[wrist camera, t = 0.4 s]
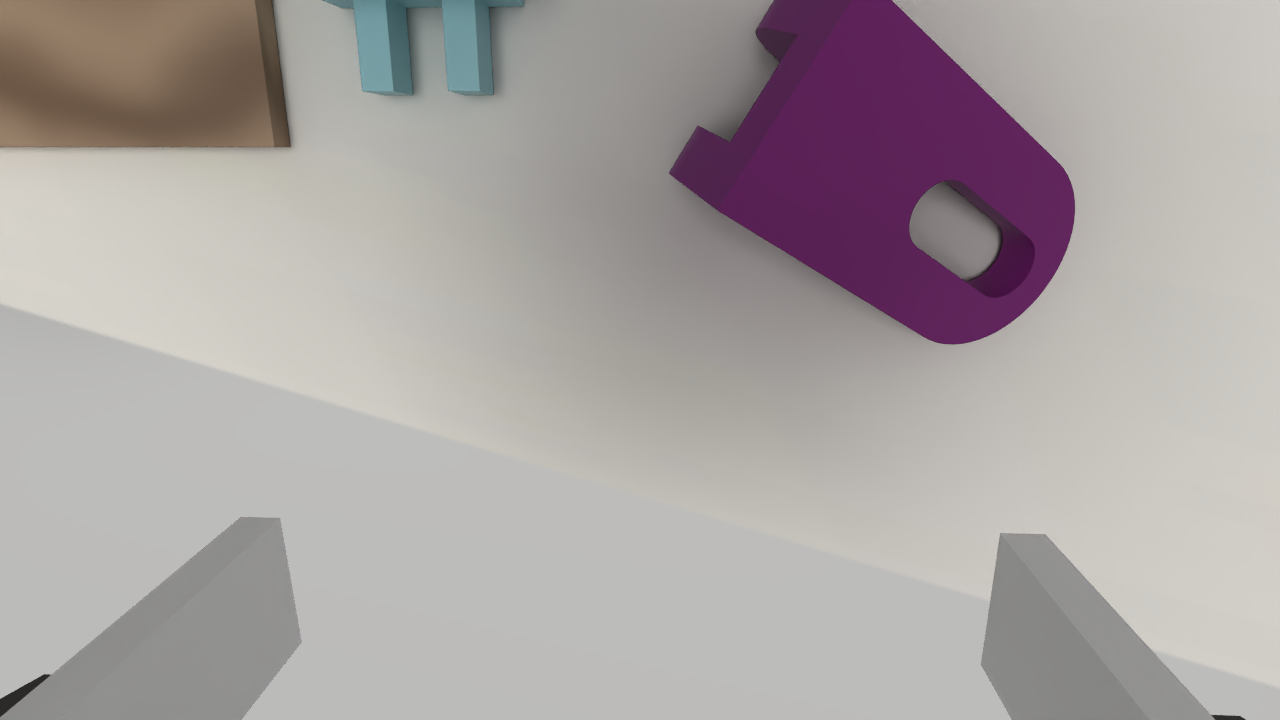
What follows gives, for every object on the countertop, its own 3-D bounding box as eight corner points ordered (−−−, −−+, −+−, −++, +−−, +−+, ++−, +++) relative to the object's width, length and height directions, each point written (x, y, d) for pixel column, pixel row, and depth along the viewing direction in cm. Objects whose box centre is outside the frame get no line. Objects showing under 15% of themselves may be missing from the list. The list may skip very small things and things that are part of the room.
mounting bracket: (982, 166, 41) (758, -32, 32) (1107, 211, 34) (868, -25, 25) (879, 303, 43) (646, 156, 34) (977, 371, 36) (716, 209, 27)
